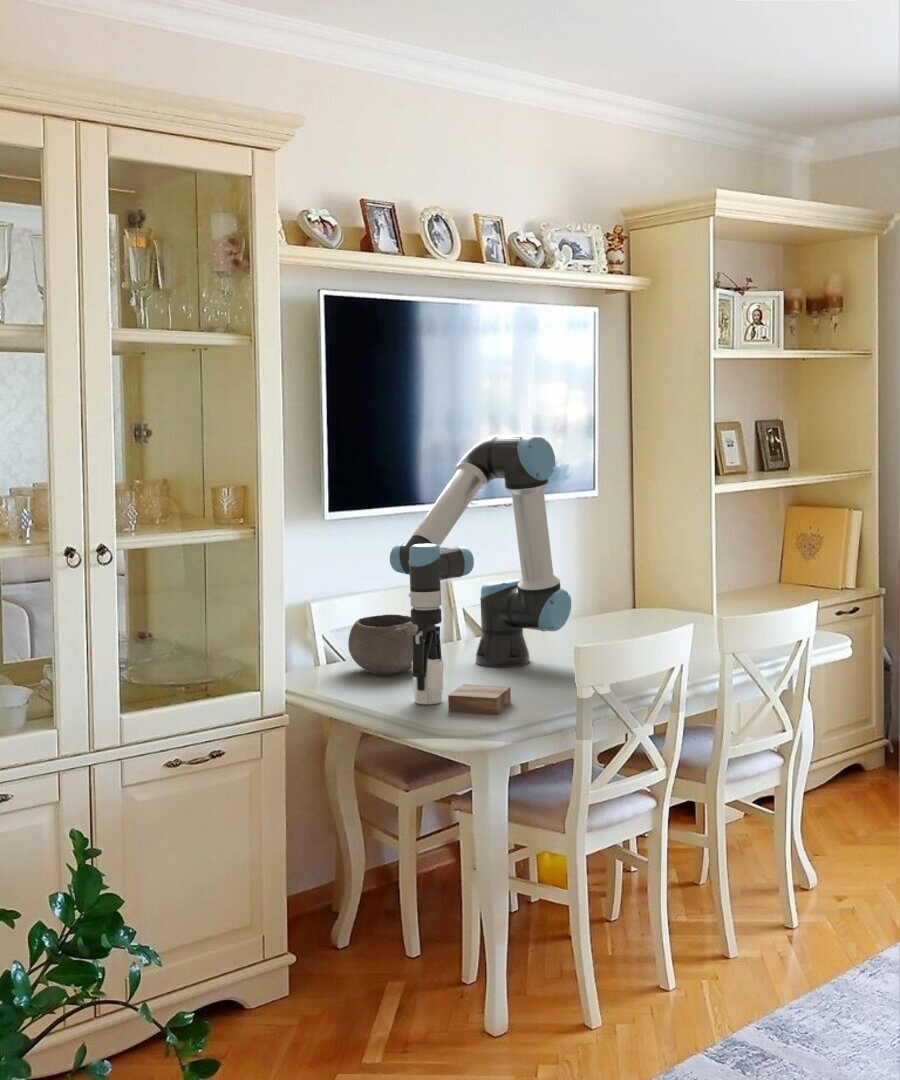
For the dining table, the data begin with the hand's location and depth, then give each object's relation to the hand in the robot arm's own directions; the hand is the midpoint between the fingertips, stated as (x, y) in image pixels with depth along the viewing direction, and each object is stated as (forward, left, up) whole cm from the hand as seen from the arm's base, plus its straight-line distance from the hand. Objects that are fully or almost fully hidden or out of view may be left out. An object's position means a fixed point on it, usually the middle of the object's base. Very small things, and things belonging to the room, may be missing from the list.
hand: (428, 698), depth 309 cm
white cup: (0, 0, -1) cm, 1 cm away
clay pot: (-29, -22, -1) cm, 36 cm away
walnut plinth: (+2, +14, -1) cm, 14 cm away
